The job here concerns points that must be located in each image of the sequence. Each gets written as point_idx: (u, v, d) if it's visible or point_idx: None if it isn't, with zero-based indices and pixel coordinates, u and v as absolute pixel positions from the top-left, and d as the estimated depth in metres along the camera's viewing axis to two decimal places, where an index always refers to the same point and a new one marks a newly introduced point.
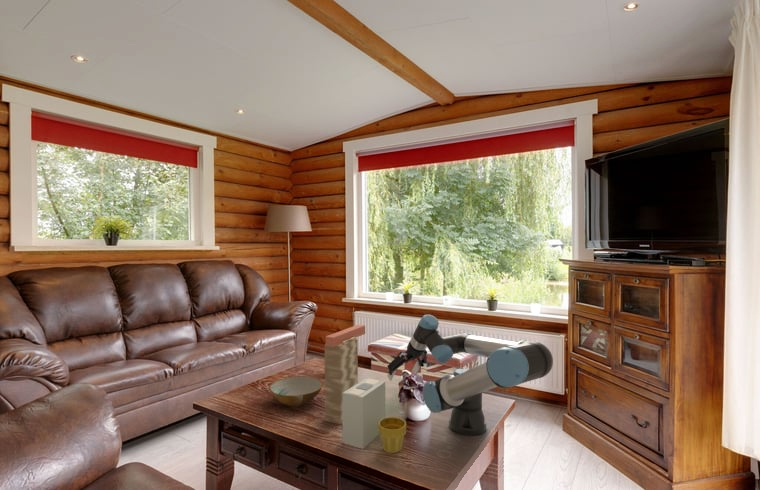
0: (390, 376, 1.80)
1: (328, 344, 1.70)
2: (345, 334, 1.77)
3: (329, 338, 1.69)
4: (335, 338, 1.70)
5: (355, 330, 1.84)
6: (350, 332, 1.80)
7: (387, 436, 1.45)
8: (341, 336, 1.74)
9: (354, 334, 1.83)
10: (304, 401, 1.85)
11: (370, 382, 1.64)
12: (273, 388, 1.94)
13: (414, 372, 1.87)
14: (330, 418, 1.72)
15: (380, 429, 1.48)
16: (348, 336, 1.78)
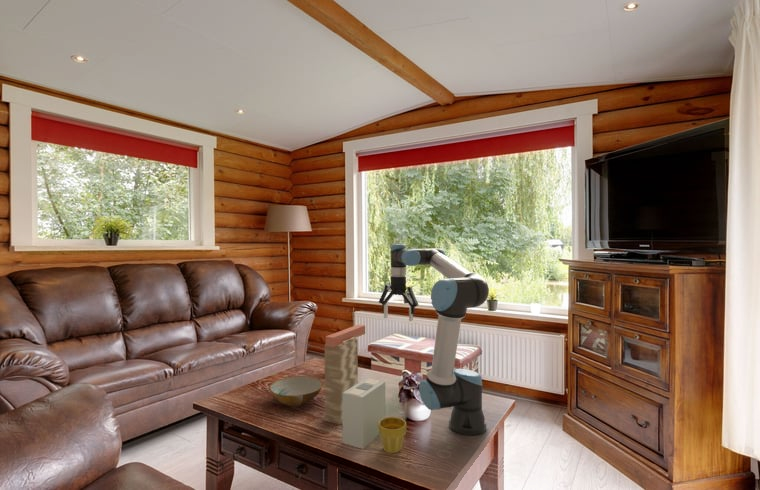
0: None
1: (328, 344, 1.70)
2: (345, 334, 1.77)
3: (329, 338, 1.69)
4: (335, 338, 1.70)
5: (355, 330, 1.84)
6: (350, 332, 1.80)
7: (387, 436, 1.45)
8: (341, 336, 1.74)
9: (354, 334, 1.83)
10: (304, 401, 1.85)
11: (370, 382, 1.64)
12: (273, 388, 1.94)
13: None
14: (330, 418, 1.72)
15: (380, 429, 1.48)
16: (348, 336, 1.78)
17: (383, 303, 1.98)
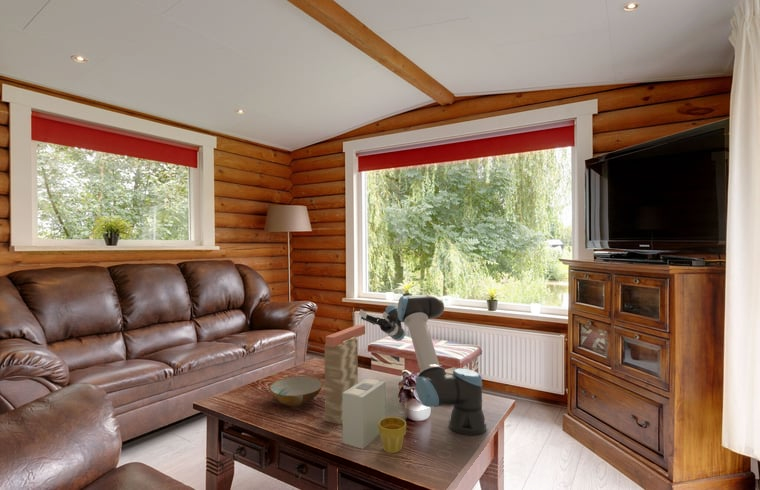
0: None
1: (328, 344, 1.70)
2: (345, 334, 1.77)
3: (329, 338, 1.69)
4: (335, 338, 1.70)
5: (355, 330, 1.84)
6: (350, 332, 1.80)
7: (387, 436, 1.45)
8: (341, 336, 1.74)
9: (354, 334, 1.83)
10: (304, 401, 1.85)
11: (370, 382, 1.64)
12: (273, 388, 1.94)
13: None
14: (330, 418, 1.72)
15: (380, 429, 1.48)
16: (348, 336, 1.78)
17: None
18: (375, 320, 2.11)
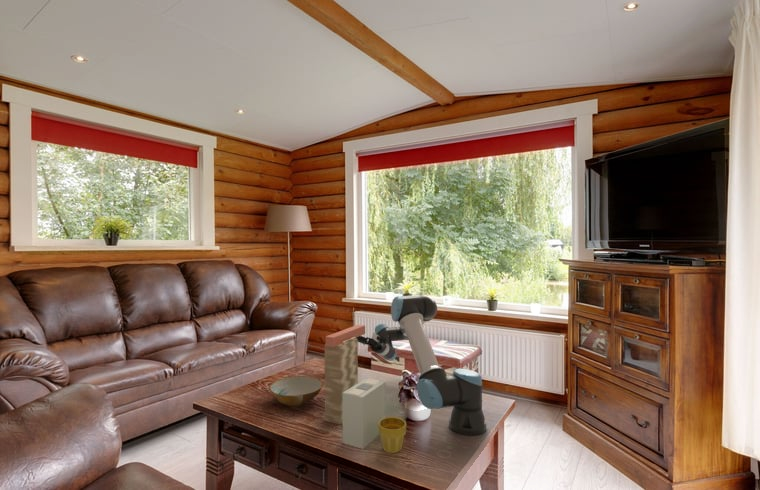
0: None
1: (328, 344, 1.70)
2: (345, 334, 1.77)
3: (329, 338, 1.69)
4: (335, 338, 1.70)
5: (355, 330, 1.84)
6: (350, 332, 1.80)
7: (387, 436, 1.45)
8: (341, 336, 1.74)
9: (354, 334, 1.83)
10: (304, 401, 1.85)
11: (370, 382, 1.64)
12: (273, 388, 1.94)
13: None
14: (330, 418, 1.72)
15: (380, 429, 1.48)
16: (348, 336, 1.78)
17: None
18: (365, 340, 2.03)
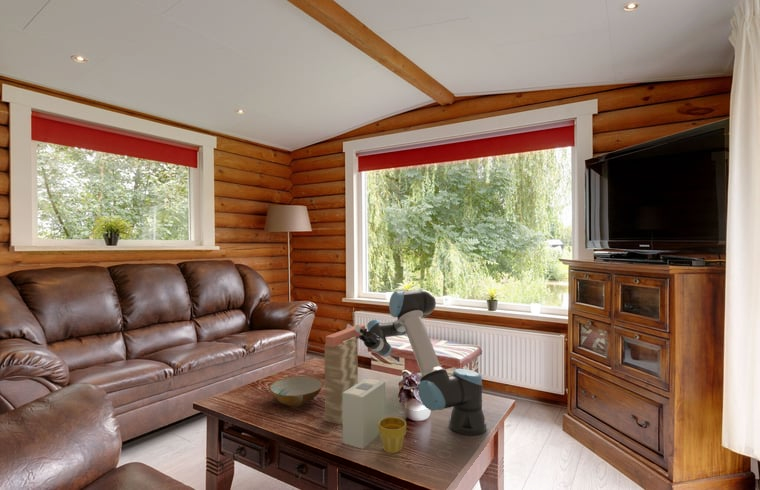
0: None
1: (328, 344, 1.70)
2: (345, 334, 1.77)
3: (329, 338, 1.69)
4: (335, 338, 1.70)
5: None
6: (350, 332, 1.80)
7: (387, 436, 1.45)
8: (341, 336, 1.74)
9: (354, 334, 1.83)
10: (304, 401, 1.85)
11: (370, 382, 1.64)
12: (273, 388, 1.94)
13: None
14: (330, 418, 1.72)
15: (380, 429, 1.48)
16: (348, 336, 1.78)
17: None
18: (361, 336, 1.95)
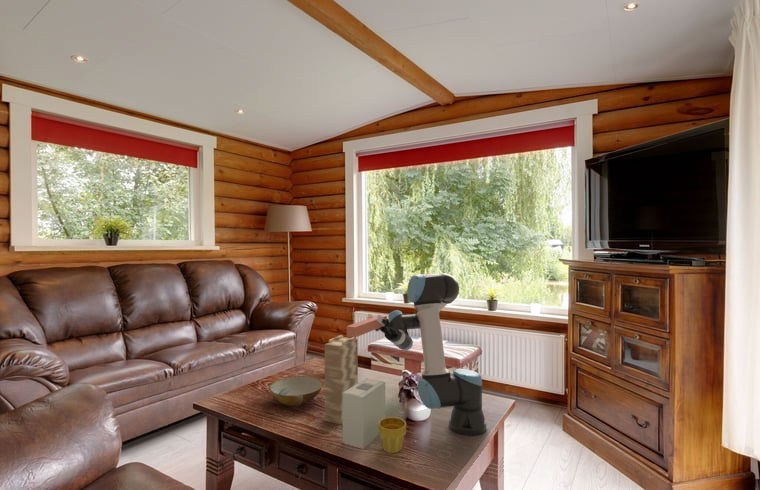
0: None
1: (349, 334, 1.57)
2: (367, 324, 1.63)
3: (351, 328, 1.56)
4: (357, 328, 1.57)
5: None
6: (372, 322, 1.67)
7: (387, 436, 1.45)
8: (363, 326, 1.61)
9: (376, 324, 1.70)
10: (304, 401, 1.85)
11: (370, 382, 1.64)
12: (273, 388, 1.94)
13: None
14: (330, 418, 1.72)
15: (380, 429, 1.48)
16: (369, 326, 1.65)
17: None
18: (382, 327, 1.82)
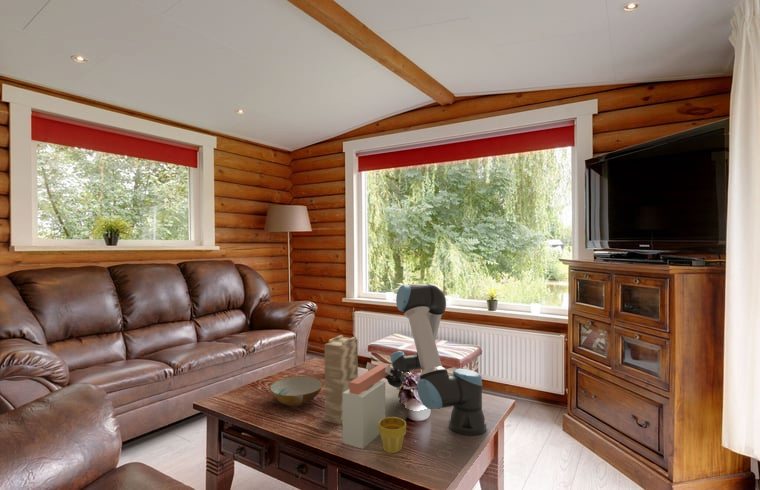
0: None
1: (352, 391, 1.53)
2: (370, 378, 1.60)
3: (353, 384, 1.53)
4: (360, 384, 1.53)
5: (380, 371, 1.67)
6: (375, 375, 1.63)
7: (387, 436, 1.45)
8: (366, 381, 1.57)
9: (379, 376, 1.66)
10: (304, 401, 1.85)
11: None
12: (273, 388, 1.94)
13: None
14: (330, 418, 1.72)
15: (380, 429, 1.48)
16: (372, 379, 1.62)
17: None
18: None
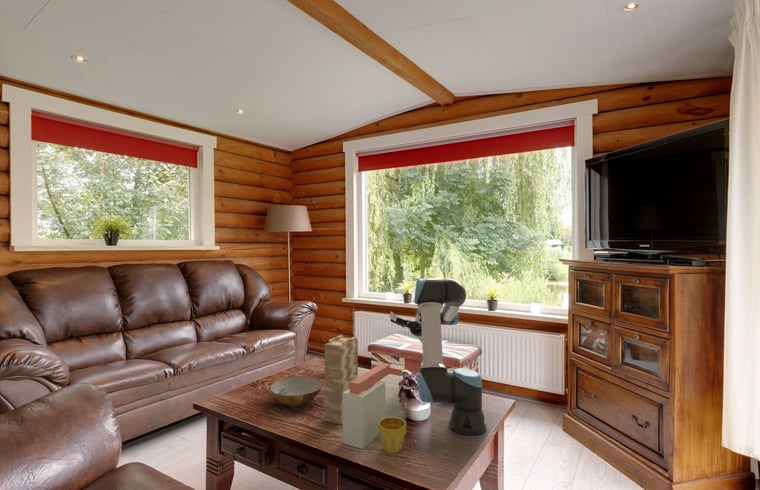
0: None
1: (352, 391, 1.53)
2: (370, 378, 1.60)
3: (353, 384, 1.53)
4: (360, 384, 1.53)
5: (380, 371, 1.67)
6: (375, 375, 1.63)
7: (387, 436, 1.45)
8: (366, 381, 1.57)
9: (379, 376, 1.66)
10: (304, 401, 1.85)
11: None
12: (273, 388, 1.94)
13: None
14: (330, 418, 1.72)
15: (380, 429, 1.48)
16: (372, 379, 1.62)
17: None
18: (405, 323, 2.02)
